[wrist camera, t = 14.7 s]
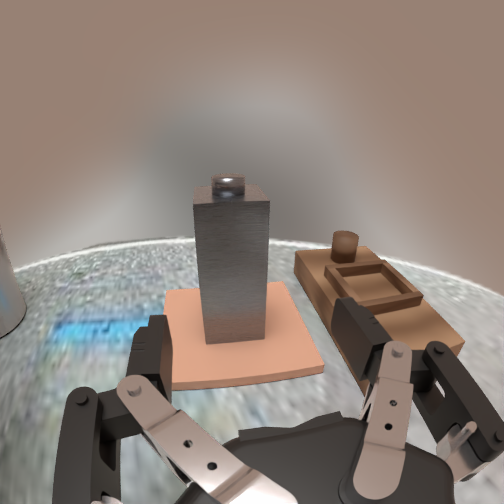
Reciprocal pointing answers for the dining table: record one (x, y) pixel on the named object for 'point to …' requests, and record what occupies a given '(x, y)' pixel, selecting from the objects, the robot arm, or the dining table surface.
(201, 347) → the coaster
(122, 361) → the dining table surface
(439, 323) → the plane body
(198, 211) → the grey square grinder
